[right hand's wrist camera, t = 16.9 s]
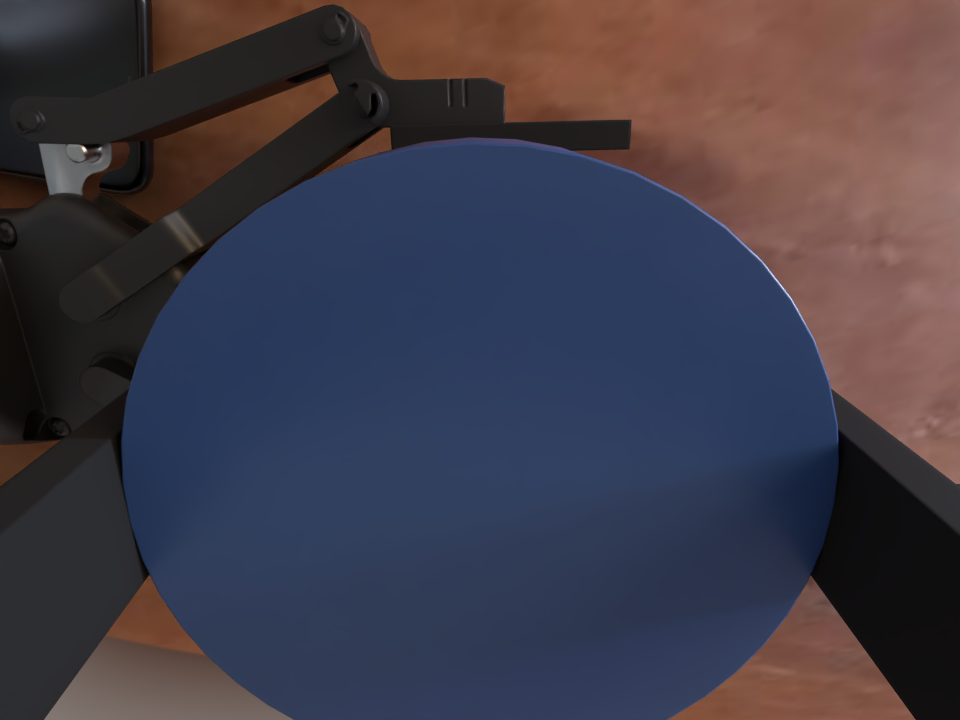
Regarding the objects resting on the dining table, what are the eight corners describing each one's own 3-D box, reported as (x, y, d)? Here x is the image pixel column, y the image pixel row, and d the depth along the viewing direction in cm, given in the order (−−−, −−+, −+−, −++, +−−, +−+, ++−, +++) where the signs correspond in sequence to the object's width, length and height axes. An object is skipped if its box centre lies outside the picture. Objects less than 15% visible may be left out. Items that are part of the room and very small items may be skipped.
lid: (835, 566, 13) (905, 653, 11) (358, 726, 15) (338, 830, 13) (666, 11, 10) (720, -21, 8) (61, 303, 11) (-40, 346, 9)
